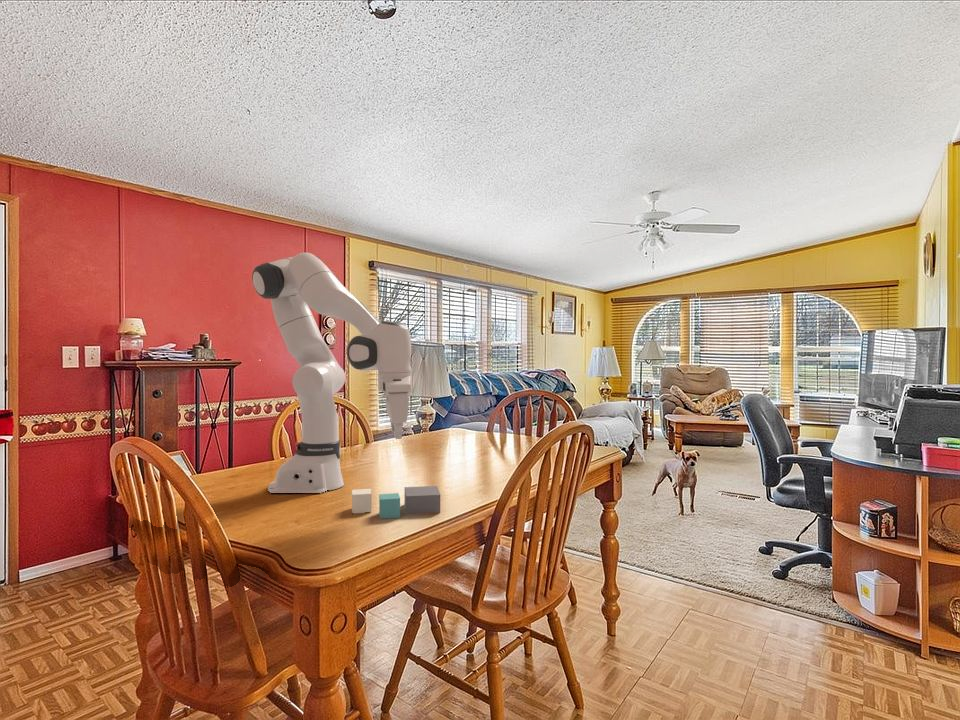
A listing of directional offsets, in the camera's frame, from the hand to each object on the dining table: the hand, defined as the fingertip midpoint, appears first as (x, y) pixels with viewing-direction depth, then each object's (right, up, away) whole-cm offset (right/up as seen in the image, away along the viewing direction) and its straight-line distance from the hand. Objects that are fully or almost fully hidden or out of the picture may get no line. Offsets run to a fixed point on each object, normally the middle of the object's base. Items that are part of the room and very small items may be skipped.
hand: (396, 435), depth 140 cm
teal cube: (-2, -21, -1) cm, 21 cm away
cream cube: (-10, -21, +3) cm, 23 cm away
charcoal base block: (+6, -21, +5) cm, 22 cm away
